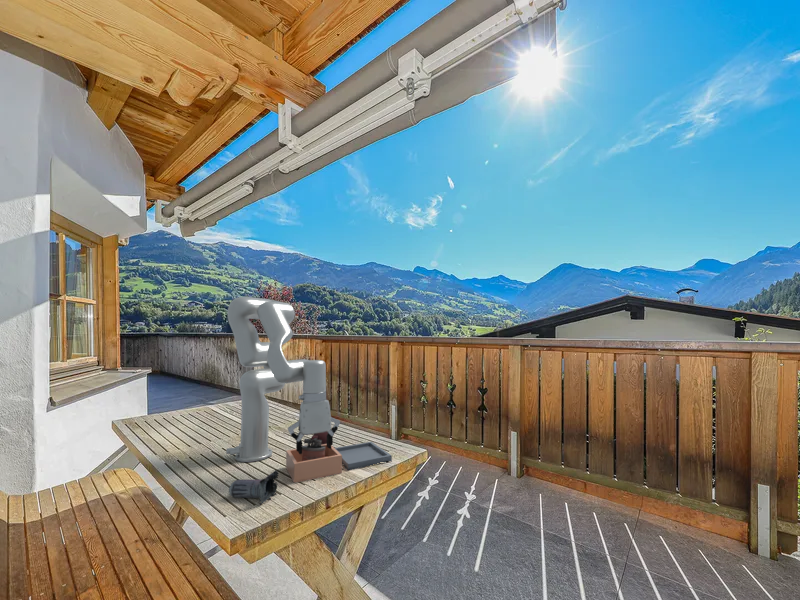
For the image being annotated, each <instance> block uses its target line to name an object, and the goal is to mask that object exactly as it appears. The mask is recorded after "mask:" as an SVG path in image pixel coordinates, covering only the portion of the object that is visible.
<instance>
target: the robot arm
mask: <svg viewBox="0 0 800 600" xmlns="http://www.w3.org/2000/svg"><path fill="white" fill-rule="evenodd" d="M227 307H228V308H227V320H228V324H229V326H230V328H231V331H232V334H233V337H234V342H235V348H236V353H237V356H238V361H239V364H240V365H241V366H242V367H244V368H257V367H263V368H258V369H252V370H248V371H246V372H244V373H243V374H242V375H241V377H240V378H239V384H238V385H239V391H240V397H241V399H240V400H241V417H240V418H241V420H240V421H241V423H240V443H239V444H238V445H237V446H236V447H228V448H226V450H225V451H226V455H230V456H232V455H234V456H235V457H234V458H235V460H236V461H237V462H242V463H252V462H258V461H264V460H265V459H268V458H270V457H271V456H272V455H273V450H272V449H271V448H269V430H270V429H269V428H270V427H269V426H270V425H269V422H270V420H269V417H270V404H269V401H268V399H267V398H266V396H265V394H271V393H275V392H279V391H281V390H282V389H284V387H285V385H286V384H290V383H292V384H293V383H297V382H298V383H299V382H302V394H300V395H298V400H301V401H302V402H300V408H299V413H298V415H299V416H298V420H297V421H296V422H294V423H293V424H292V425H290V426H288V427H287V431H288V433H289V434H290V436H291V437H292V438H293V439H294V440H295V442H296V443H295V445H296V448H295V449H296V450H297V451H298V453H299V454H302V446H303V440H302V438H303V437H304V436H308V435H309V436H310V435H314V434H317V433H323V432H327V433H328V434H327V447H328V448H329V449H331V445H332V446H333V445H334V444H333V441H334V439H333V438H334V437H333V436H335V433H337V431H338V427H339V426H340V424H341V421H340V420H339V419H336V418H334V417H332V415H331V405H330V402H329V400H328V399H327V375H326V374H327V373H326V372H327V369H326V368H327V365H326V362H325V361H324V360H322V359H313V360H312V359H307V358H306V359H303V358H300V359H292V360H287V358H286V357H285V354H284V352H283V348H282V346H283V345H285V344H286V343H287V342H289V341H290V340H291V339H292V338H293V336H294V335H293V334H294V332H293V330H292V328H291V326H290V323H292V322H293V321H294V319H295V315H296V312H295V309H294V307H293V306H292V305H291V304H290V303H288V302H285V301H284V302H283V301H278V300H274V299H268V298H261V297H251V296H240V297H236V298H234V299H233V300H232V301H230V303H229V305H228V306H227ZM250 319H251V320H252V319H253V320H259V321H260V323H261V325H262V328H263V329H264V332H265V333H266V335H267V338H268V340H269V341H266V342H265V341H263V342H262V341H260V338H259V333H258V330H257V328H256V326H255V325H254V324H253V322H251V321H250ZM332 423H334V425H333V426H332ZM296 428H298V433H297V434H296V433H295V431H294V430H295V429H296Z"/></svg>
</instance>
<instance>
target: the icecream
mask: <svg viewBox="0 0 800 600" xmlns="http://www.w3.org/2000/svg"><path fill="white" fill-rule="evenodd" d="M327 434H328V433H327V432H323V433H317V434H312V436H311V437H310V439H312V440H313V439H315V438H317V439H318V440H322V445H323V444H327Z"/></svg>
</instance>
